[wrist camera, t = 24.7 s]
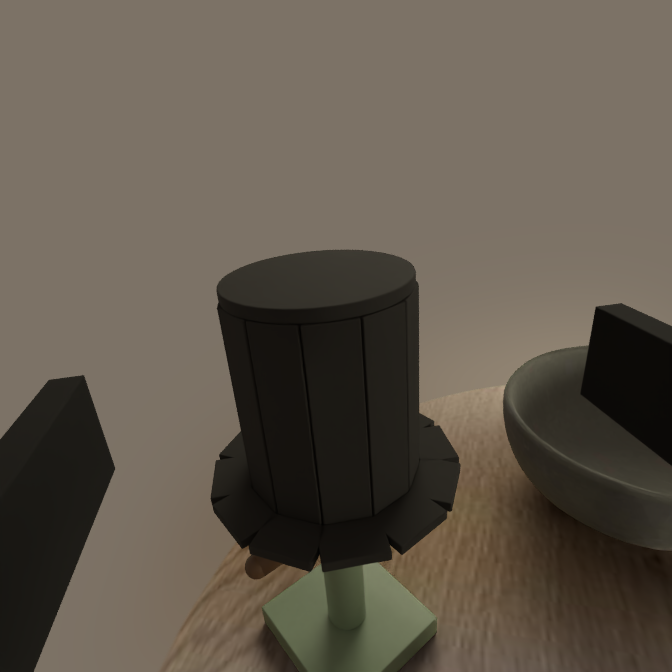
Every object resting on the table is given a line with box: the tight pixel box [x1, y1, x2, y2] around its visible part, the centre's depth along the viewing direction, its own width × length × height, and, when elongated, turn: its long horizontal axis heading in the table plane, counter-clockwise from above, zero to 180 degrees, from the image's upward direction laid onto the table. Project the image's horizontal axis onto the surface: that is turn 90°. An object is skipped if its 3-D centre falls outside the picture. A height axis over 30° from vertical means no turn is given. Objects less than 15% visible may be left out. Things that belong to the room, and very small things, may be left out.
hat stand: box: [245, 555, 437, 672], centre depth 25 cm, size 12×8×23 cm
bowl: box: [503, 346, 672, 551], centre depth 36 cm, size 20×20×10 cm
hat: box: [211, 250, 460, 572], centre depth 22 cm, size 13×13×11 cm
